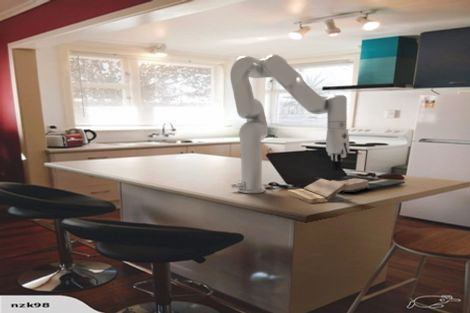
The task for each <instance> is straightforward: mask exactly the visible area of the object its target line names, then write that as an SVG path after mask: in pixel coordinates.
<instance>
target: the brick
mask: <svg viewBox="0 0 470 313" xmlns="http://www.w3.org/2000/svg"><path fill="white" fill-rule="evenodd" d="M337 181H338V182H341V183H345V184H346V186H347V187H346V188H344V189H345V190H354V189H358V188H361V187H365V186H368V187H369V180H368V179H364V178H363V179H362V178H350V179H345V180H337Z"/></svg>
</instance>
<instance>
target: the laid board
mask: <svg viewBox="0 0 470 313" xmlns="http://www.w3.org/2000/svg"><path fill="white" fill-rule="evenodd" d="M286 194H287V195H289V196H291V197H294V198H296V199H298V200H300V201H303V202H305V203H308V204H310V203H311V204H318V202H320V203H327V201H328V200H325V197H322V196H320V195H317V194H314V193H312V192H309V191H306V190H304V189H303V188H295V189H287V193H286Z"/></svg>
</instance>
